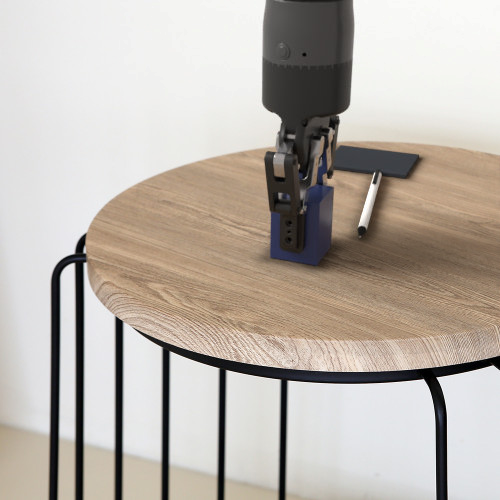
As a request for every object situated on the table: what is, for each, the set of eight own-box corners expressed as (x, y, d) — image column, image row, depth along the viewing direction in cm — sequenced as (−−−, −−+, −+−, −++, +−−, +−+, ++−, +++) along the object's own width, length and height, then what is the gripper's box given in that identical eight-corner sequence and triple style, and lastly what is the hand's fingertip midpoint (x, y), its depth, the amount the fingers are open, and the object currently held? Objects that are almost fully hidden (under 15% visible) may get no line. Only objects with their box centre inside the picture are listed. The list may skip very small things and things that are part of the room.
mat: (419, 157, 98) (419, 154, 98) (405, 178, 92) (405, 175, 91) (340, 148, 102) (340, 144, 101) (322, 167, 95) (322, 164, 95)
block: (331, 246, 75) (334, 186, 72) (317, 266, 71) (319, 203, 69) (286, 238, 77) (287, 179, 74) (269, 257, 73) (270, 196, 70)
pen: (382, 174, 92) (383, 165, 92) (364, 241, 76) (365, 231, 75) (374, 173, 93) (375, 164, 92) (354, 240, 76) (355, 230, 75)
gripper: (326, 74, 59) (317, 280, 66) (372, 40, 71) (360, 217, 78) (232, 66, 61) (233, 264, 69) (292, 34, 73) (288, 206, 81)
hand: (301, 238), depth 73 cm, fingers closed on block, 4 cm apart
